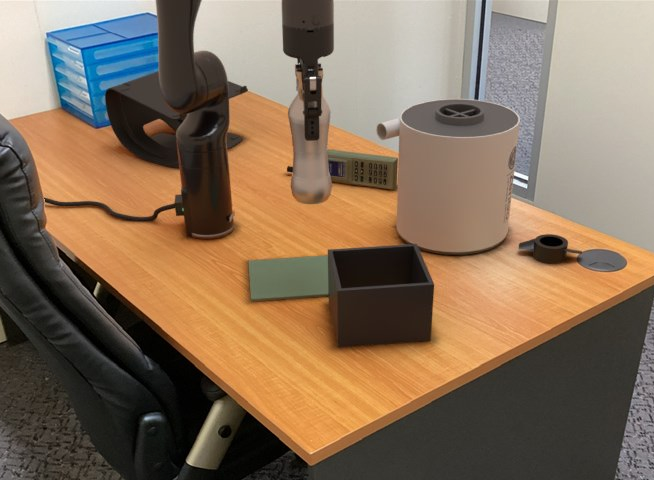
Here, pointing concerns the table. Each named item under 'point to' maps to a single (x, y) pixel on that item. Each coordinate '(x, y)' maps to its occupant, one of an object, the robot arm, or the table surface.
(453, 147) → the humidifier
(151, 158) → the laptop stand
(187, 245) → the table surface
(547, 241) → the black tabbed ring
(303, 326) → the table surface
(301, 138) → the plastic bottle
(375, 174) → the handheld radio
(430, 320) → the tote
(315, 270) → the mat
